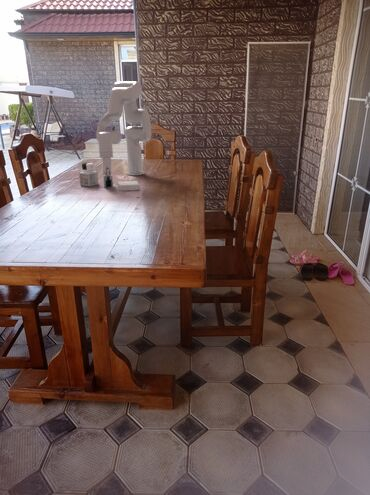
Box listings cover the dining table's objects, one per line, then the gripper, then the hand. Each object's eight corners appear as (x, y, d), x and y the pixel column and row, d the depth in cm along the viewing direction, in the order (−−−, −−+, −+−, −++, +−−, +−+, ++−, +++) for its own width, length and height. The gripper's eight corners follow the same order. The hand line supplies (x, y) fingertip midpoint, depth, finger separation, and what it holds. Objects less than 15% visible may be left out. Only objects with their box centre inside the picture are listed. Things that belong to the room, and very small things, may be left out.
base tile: (118, 186, 220) (117, 181, 218) (136, 185, 222) (136, 180, 221) (119, 190, 210) (119, 185, 209) (139, 189, 212) (138, 184, 211)
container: (80, 185, 223) (77, 163, 218) (88, 182, 229) (86, 161, 225) (90, 186, 220) (88, 164, 215) (98, 184, 226) (96, 162, 221)
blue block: (104, 186, 221) (103, 176, 219) (112, 185, 223) (111, 175, 220) (104, 187, 217) (103, 177, 215) (113, 187, 218) (112, 177, 216)
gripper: (99, 152, 220) (101, 183, 226) (99, 156, 204) (102, 189, 211) (111, 152, 221) (114, 182, 228) (113, 156, 206) (115, 188, 213)
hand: (108, 185), depth 219 cm, fingers open, 5 cm apart
